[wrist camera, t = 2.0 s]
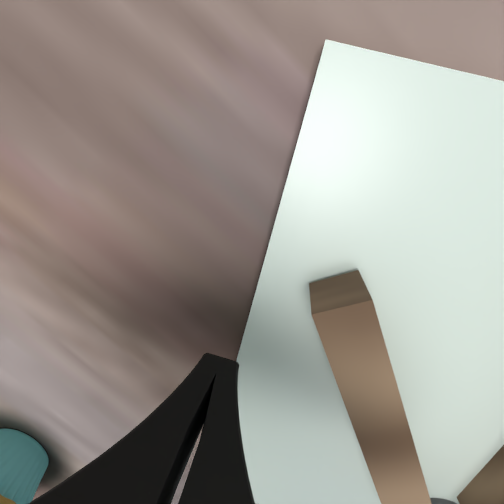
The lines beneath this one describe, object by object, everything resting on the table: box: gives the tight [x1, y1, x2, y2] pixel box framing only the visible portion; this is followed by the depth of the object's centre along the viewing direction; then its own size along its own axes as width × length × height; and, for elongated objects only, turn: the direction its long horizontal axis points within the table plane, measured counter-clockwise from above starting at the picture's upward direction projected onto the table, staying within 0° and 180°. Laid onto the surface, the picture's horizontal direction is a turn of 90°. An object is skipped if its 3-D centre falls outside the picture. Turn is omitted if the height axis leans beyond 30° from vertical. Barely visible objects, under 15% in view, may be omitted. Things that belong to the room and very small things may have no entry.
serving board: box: [236, 40, 504, 504], centre depth 13 cm, size 24×20×1 cm
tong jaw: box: [309, 270, 432, 504], centre depth 12 cm, size 14×2×2 cm, turn 22°
